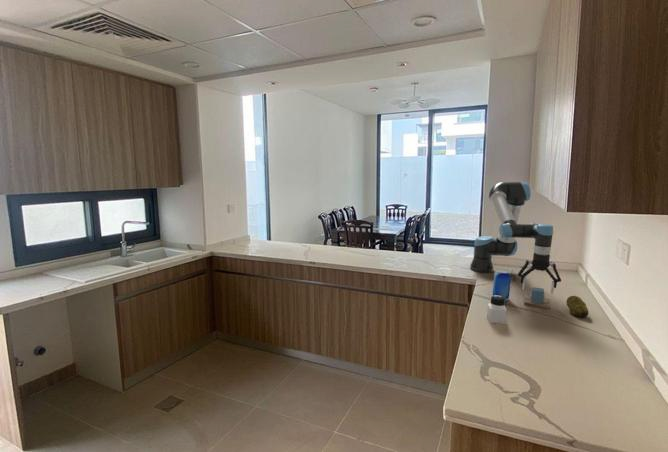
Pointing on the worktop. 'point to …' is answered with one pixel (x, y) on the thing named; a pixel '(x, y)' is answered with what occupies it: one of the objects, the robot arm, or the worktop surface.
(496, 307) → the medicine bottle
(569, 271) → the worktop surface
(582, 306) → the brown oval lump
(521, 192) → the robot arm
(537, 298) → the light blue chamfered box
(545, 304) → the tan square panel
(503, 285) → the beer can
